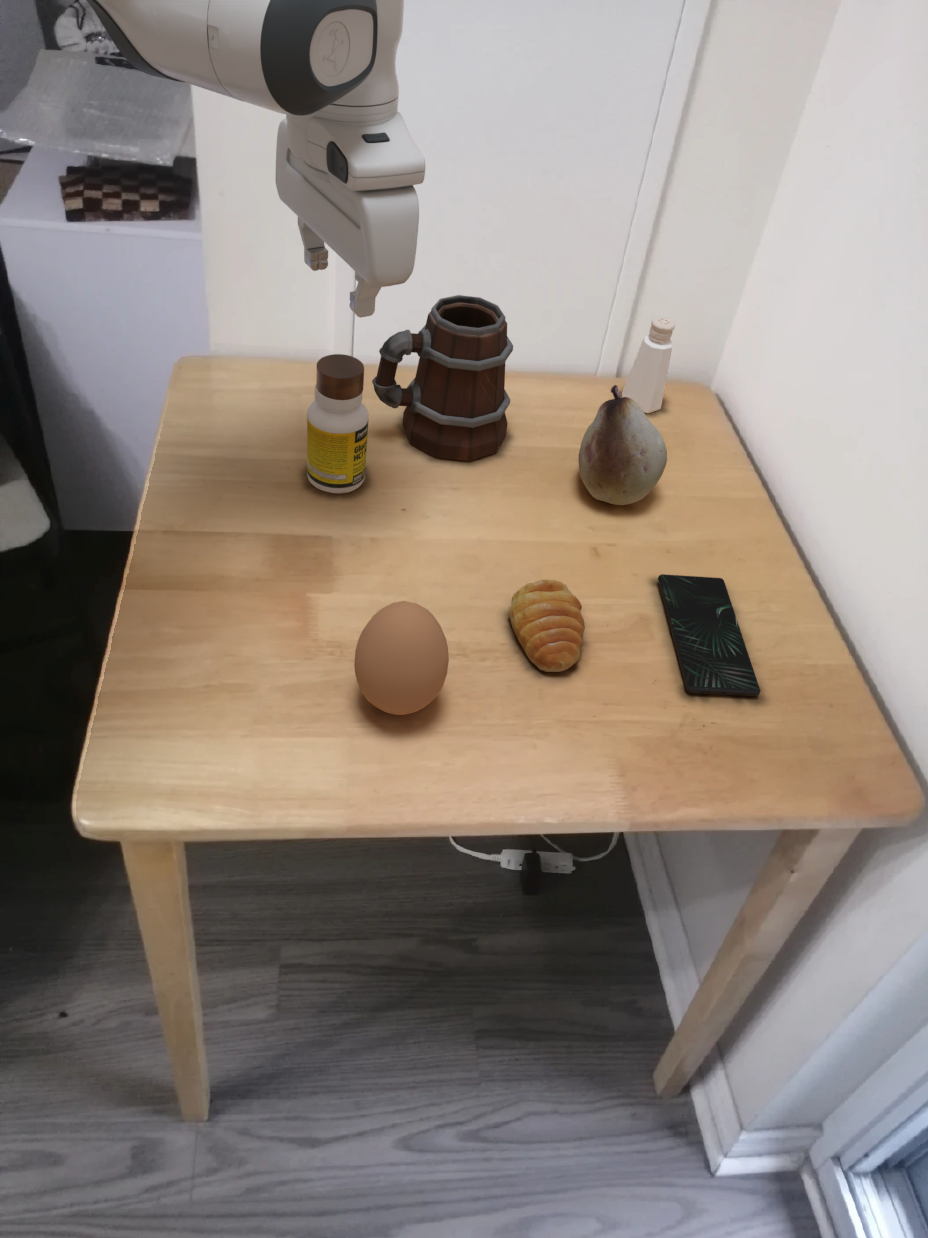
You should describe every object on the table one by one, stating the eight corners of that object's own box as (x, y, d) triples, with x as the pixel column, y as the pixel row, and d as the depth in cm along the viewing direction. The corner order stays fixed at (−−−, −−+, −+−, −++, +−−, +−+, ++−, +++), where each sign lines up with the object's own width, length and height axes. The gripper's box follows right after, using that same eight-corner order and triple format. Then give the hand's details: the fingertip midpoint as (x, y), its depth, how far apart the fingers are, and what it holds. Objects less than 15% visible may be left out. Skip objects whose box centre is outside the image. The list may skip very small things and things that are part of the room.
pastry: (593, 676, 84) (602, 647, 81) (519, 678, 83) (526, 649, 80) (571, 603, 91) (579, 574, 88) (503, 604, 90) (509, 574, 87)
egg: (342, 726, 77) (345, 634, 69) (364, 660, 82) (370, 568, 75) (432, 745, 77) (446, 655, 69) (449, 678, 82) (463, 587, 74)
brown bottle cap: (320, 401, 90) (321, 379, 89) (312, 376, 93) (312, 354, 92) (367, 399, 92) (368, 377, 90) (358, 374, 95) (358, 352, 93)
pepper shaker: (613, 391, 120) (634, 310, 112) (652, 389, 121) (675, 310, 114) (628, 414, 116) (651, 333, 109) (668, 413, 118) (693, 332, 110)
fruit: (580, 455, 109) (602, 362, 100) (659, 475, 108) (689, 383, 99) (563, 505, 102) (586, 410, 93) (648, 528, 100) (679, 433, 92)
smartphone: (688, 688, 83) (658, 572, 94) (685, 696, 84) (655, 580, 94) (762, 692, 84) (724, 577, 94) (758, 699, 85) (721, 584, 95)
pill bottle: (362, 498, 98) (367, 407, 91) (303, 492, 98) (303, 400, 90) (367, 464, 103) (372, 374, 95) (311, 458, 102) (311, 367, 95)
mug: (484, 401, 115) (502, 283, 104) (516, 458, 107) (539, 338, 96) (359, 408, 110) (364, 287, 100) (382, 469, 102) (390, 344, 92)
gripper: (254, 87, 81) (260, 245, 90) (363, 177, 69) (357, 347, 79) (322, 83, 83) (320, 237, 93) (437, 170, 72) (422, 335, 82)
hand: (338, 289), depth 86 cm, fingers open, 8 cm apart
